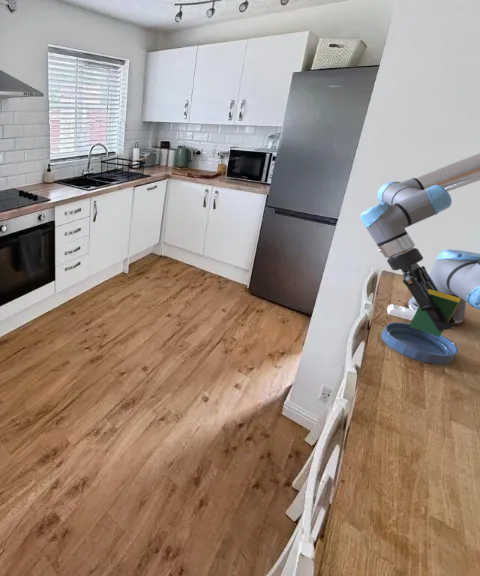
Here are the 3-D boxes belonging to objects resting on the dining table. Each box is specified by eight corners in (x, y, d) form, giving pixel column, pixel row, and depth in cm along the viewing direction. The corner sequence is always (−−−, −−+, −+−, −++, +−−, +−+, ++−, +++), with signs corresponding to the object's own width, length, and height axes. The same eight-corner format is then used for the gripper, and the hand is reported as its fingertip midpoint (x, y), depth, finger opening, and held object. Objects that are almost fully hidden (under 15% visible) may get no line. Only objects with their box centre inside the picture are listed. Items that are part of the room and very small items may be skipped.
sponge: (412, 321, 110) (429, 288, 105) (442, 332, 105) (461, 298, 100) (408, 326, 107) (425, 293, 102) (439, 337, 103) (458, 303, 98)
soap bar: (420, 323, 122) (423, 317, 121) (387, 315, 126) (390, 308, 125) (418, 317, 126) (422, 311, 125) (386, 309, 130) (389, 303, 129)
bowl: (389, 325, 120) (394, 316, 118) (457, 351, 109) (463, 341, 107) (373, 343, 110) (377, 334, 108) (445, 373, 99) (451, 363, 97)
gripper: (394, 252, 114) (437, 320, 111) (376, 265, 104) (423, 340, 100) (423, 241, 108) (469, 312, 105) (407, 253, 98) (458, 333, 94)
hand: (447, 326), depth 102 cm, fingers closed on sponge, 4 cm apart
